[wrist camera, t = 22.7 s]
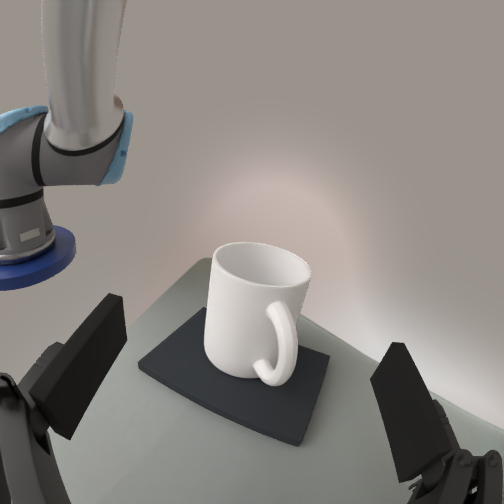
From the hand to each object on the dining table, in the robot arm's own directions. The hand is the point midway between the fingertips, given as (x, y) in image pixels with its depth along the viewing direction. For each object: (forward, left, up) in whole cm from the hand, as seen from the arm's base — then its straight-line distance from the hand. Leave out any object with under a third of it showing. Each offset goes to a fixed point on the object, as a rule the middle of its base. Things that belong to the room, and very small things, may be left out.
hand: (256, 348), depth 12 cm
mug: (-3, +9, -11) cm, 15 cm away
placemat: (-3, +9, -12) cm, 15 cm away
